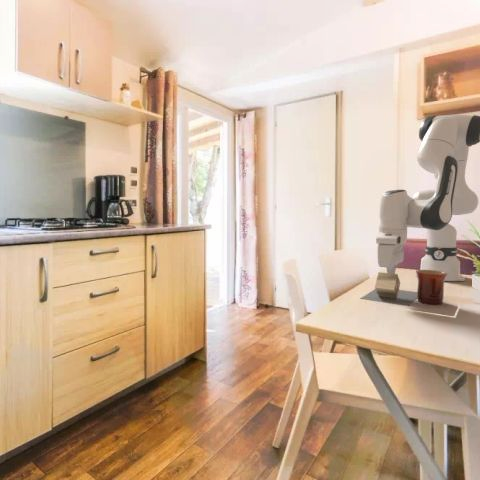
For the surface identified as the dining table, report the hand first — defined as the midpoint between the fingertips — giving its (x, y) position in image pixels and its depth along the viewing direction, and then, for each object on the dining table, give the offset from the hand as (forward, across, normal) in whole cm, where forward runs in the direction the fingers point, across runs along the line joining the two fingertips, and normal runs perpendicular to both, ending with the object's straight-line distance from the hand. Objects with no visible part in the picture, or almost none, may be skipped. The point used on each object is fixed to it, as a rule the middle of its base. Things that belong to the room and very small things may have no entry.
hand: (391, 277), depth 118 cm
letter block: (0, +2, 0) cm, 2 cm away
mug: (+7, +3, +13) cm, 15 cm away
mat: (+7, 0, 0) cm, 7 cm away
